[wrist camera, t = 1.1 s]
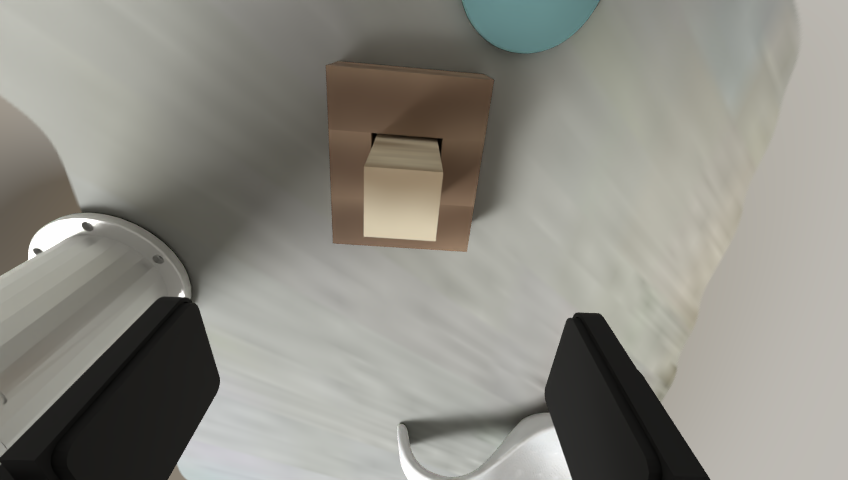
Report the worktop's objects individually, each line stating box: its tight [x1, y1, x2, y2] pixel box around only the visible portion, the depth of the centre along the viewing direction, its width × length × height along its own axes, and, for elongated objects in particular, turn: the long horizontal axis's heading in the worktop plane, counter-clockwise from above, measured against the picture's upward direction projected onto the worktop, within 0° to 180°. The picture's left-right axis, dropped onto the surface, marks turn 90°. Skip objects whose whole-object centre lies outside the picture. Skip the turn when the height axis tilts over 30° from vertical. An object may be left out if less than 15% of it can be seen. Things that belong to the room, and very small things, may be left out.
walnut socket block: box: [326, 61, 494, 252], centre depth 27 cm, size 12×10×4 cm
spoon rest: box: [397, 413, 572, 480], centre depth 42 cm, size 24×12×7 cm, turn 93°
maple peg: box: [364, 133, 443, 241], centre depth 24 cm, size 4×4×10 cm
